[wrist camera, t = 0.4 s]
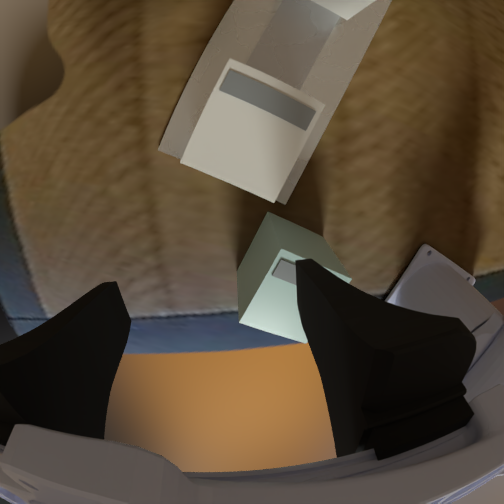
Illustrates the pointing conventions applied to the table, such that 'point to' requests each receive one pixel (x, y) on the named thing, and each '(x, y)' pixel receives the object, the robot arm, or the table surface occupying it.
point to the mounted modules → (256, 124)
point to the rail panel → (280, 62)
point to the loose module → (279, 275)
